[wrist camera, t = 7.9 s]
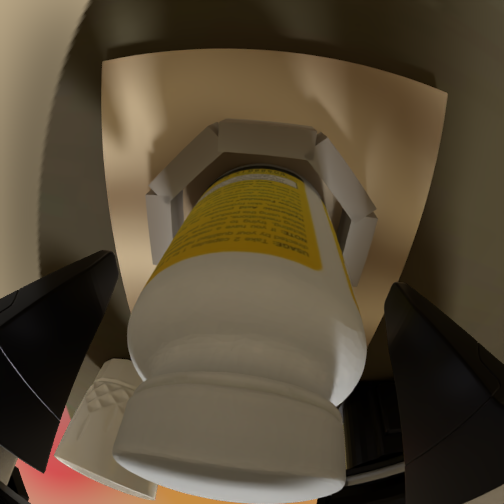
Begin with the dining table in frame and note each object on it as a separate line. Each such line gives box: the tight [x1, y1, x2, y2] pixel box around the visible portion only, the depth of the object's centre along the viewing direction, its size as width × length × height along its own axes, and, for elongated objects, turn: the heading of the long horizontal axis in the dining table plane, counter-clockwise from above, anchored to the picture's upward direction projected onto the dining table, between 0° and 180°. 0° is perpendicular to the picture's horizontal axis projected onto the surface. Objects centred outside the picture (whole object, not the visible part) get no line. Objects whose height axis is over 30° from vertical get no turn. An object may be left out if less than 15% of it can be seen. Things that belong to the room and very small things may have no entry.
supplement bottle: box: [112, 163, 367, 504], centre depth 8 cm, size 5×5×10 cm
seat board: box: [101, 49, 448, 347], centre depth 11 cm, size 14×14×2 cm
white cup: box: [54, 358, 158, 500], centre depth 17 cm, size 8×8×10 cm
